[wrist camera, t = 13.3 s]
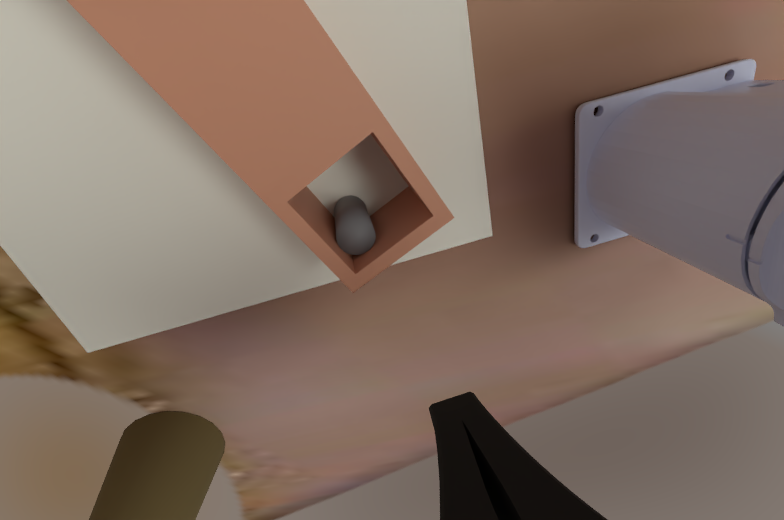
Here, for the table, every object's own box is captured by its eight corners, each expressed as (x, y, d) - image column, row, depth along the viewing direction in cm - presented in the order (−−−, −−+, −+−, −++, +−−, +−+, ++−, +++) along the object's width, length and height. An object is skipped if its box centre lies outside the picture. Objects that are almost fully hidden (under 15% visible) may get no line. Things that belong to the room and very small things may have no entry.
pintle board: (412, -415, 11) (517, -997, 5) (488, 231, 20) (553, 290, 15) (-386, -260, 10) (-1434, -767, 4) (94, 345, 19) (-3, 456, 14)
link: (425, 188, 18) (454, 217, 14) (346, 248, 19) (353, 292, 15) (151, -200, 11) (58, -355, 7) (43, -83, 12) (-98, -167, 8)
